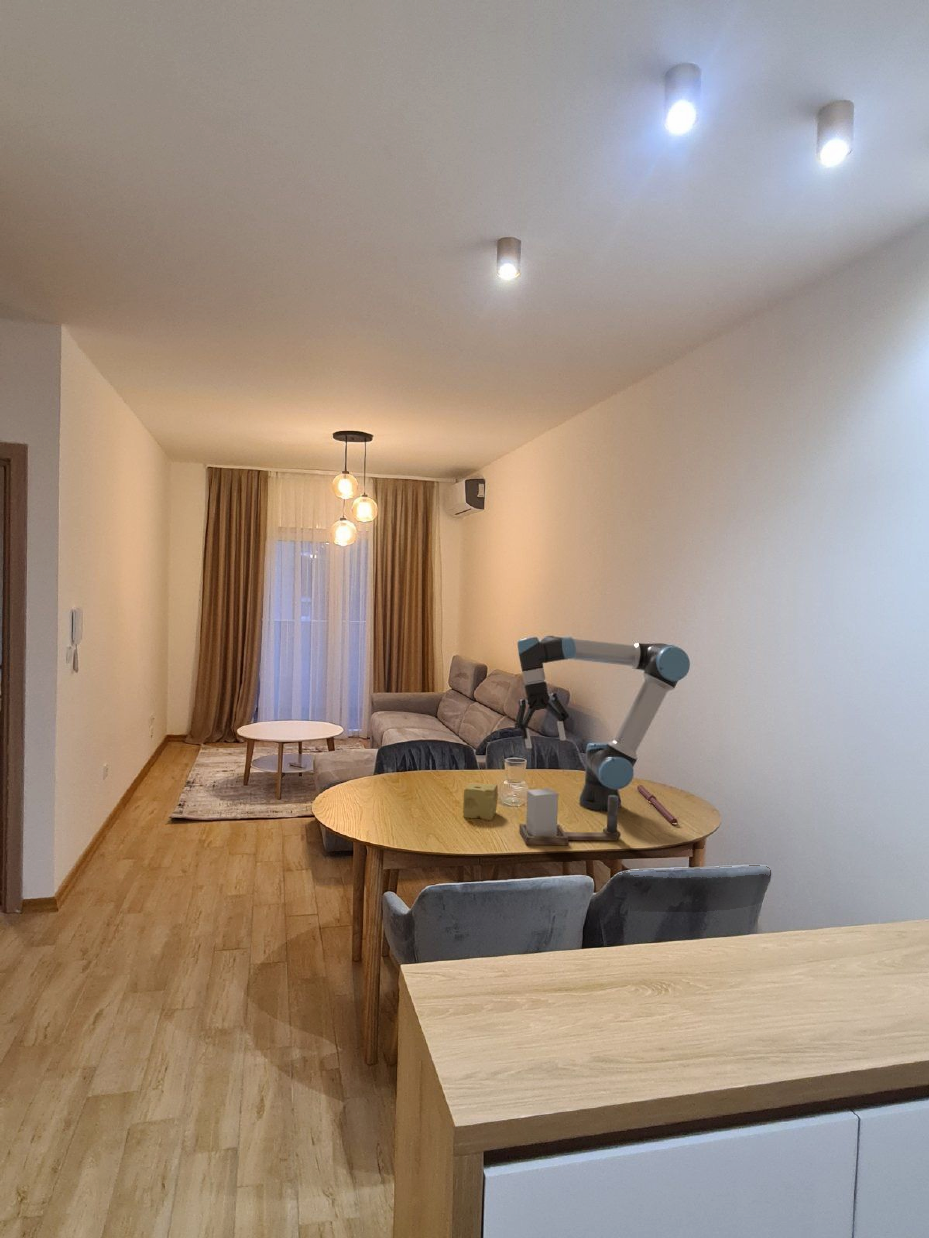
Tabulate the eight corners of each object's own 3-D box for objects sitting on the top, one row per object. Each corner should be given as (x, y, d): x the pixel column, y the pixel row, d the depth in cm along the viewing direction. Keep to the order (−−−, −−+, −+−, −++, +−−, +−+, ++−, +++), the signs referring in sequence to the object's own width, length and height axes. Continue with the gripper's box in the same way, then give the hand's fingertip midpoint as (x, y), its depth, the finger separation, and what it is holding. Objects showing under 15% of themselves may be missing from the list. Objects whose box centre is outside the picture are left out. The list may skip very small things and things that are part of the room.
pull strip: (612, 831, 252) (614, 791, 251) (624, 845, 239) (626, 802, 238) (519, 830, 249) (521, 789, 248) (526, 844, 236) (528, 801, 236)
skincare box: (548, 835, 246) (550, 787, 245) (557, 842, 240) (560, 793, 239) (524, 838, 243) (526, 789, 242) (533, 844, 237) (535, 794, 236)
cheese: (492, 820, 260) (493, 791, 260) (461, 817, 262) (462, 788, 262) (497, 812, 270) (498, 783, 270) (467, 809, 273) (468, 781, 272)
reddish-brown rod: (635, 791, 307) (635, 783, 307) (643, 791, 307) (643, 783, 307) (669, 826, 262) (670, 817, 262) (679, 826, 262) (679, 817, 262)
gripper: (560, 677, 273) (571, 737, 272) (498, 689, 263) (509, 751, 261) (571, 675, 267) (582, 737, 265) (508, 687, 256) (519, 751, 255)
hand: (546, 744), depth 263 cm, fingers open, 13 cm apart
